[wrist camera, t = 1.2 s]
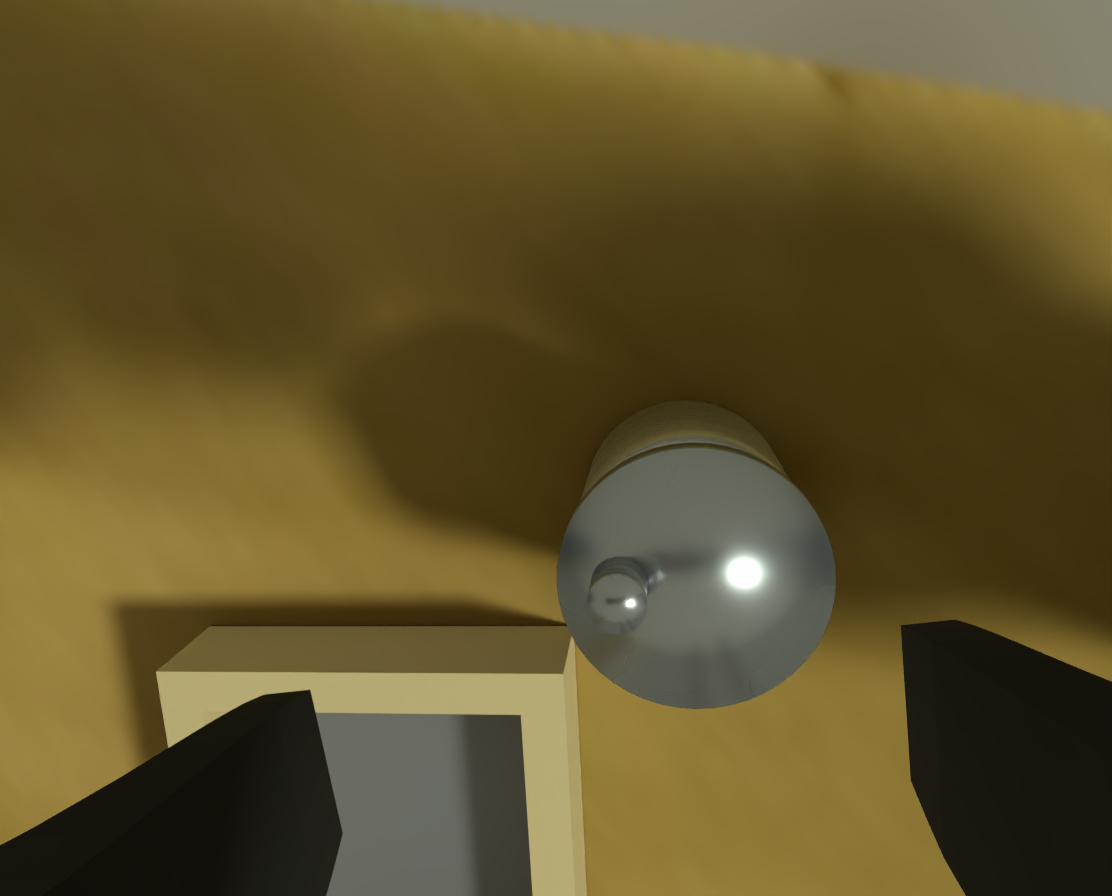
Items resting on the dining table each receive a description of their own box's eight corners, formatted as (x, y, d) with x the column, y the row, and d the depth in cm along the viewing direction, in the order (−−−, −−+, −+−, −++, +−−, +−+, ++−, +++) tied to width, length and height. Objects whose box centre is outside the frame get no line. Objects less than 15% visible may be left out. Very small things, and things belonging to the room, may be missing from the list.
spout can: (789, 392, 20) (852, 459, 13) (787, 591, 21) (846, 741, 14) (577, 399, 20) (542, 466, 14) (586, 592, 21) (557, 737, 15)
